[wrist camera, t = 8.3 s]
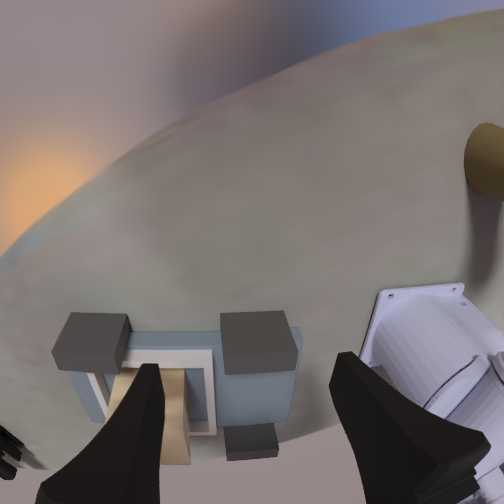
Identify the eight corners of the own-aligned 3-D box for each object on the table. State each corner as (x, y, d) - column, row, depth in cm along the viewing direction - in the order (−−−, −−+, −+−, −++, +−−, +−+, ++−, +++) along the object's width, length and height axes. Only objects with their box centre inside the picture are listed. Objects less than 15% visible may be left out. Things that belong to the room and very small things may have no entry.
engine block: (184, 368, 22) (183, 429, 17) (189, 409, 24) (190, 465, 19) (117, 366, 21) (104, 425, 16) (130, 407, 23) (123, 461, 18)
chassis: (300, 309, 23) (319, 349, 19) (282, 418, 28) (291, 454, 24) (56, 311, 20) (35, 349, 16) (99, 419, 26) (92, 455, 22)
